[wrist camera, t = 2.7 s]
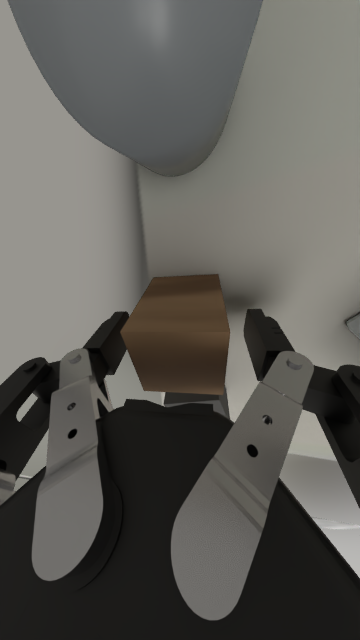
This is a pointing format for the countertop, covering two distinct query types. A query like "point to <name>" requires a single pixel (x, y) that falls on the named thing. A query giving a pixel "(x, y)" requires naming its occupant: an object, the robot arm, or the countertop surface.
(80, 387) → the robot arm
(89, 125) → the grey egg shape
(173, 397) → the charcoal block
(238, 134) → the countertop surface
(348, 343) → the countertop surface
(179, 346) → the walnut block
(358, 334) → the tea box
